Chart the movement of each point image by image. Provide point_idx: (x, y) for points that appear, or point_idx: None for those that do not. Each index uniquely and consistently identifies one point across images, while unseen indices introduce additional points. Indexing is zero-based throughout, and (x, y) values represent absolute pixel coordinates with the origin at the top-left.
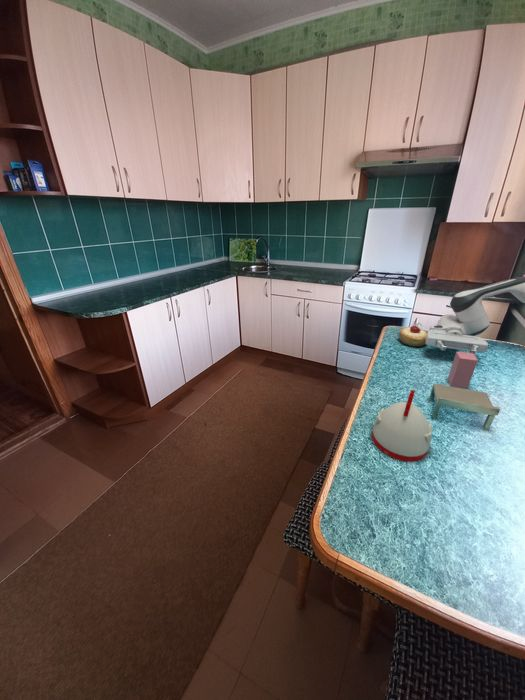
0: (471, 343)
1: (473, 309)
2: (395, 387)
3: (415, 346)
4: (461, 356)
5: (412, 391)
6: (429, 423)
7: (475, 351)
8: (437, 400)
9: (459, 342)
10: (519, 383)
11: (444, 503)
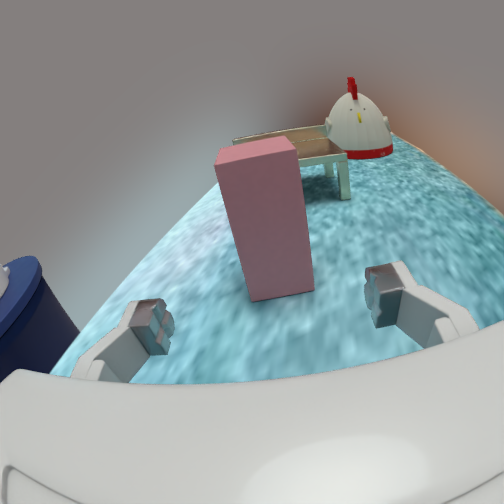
0: (101, 381)
1: None
2: (429, 200)
3: None
4: (277, 139)
5: (352, 79)
6: (329, 120)
7: (140, 302)
8: (328, 138)
9: (226, 388)
10: (62, 356)
11: (305, 140)
